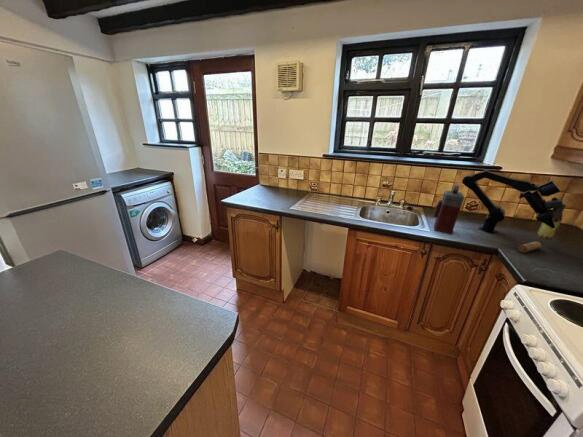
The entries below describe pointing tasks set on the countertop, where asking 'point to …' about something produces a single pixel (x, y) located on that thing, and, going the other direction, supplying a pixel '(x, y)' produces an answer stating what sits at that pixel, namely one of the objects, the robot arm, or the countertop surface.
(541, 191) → the robot arm
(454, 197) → the red bottle
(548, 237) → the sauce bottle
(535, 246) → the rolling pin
